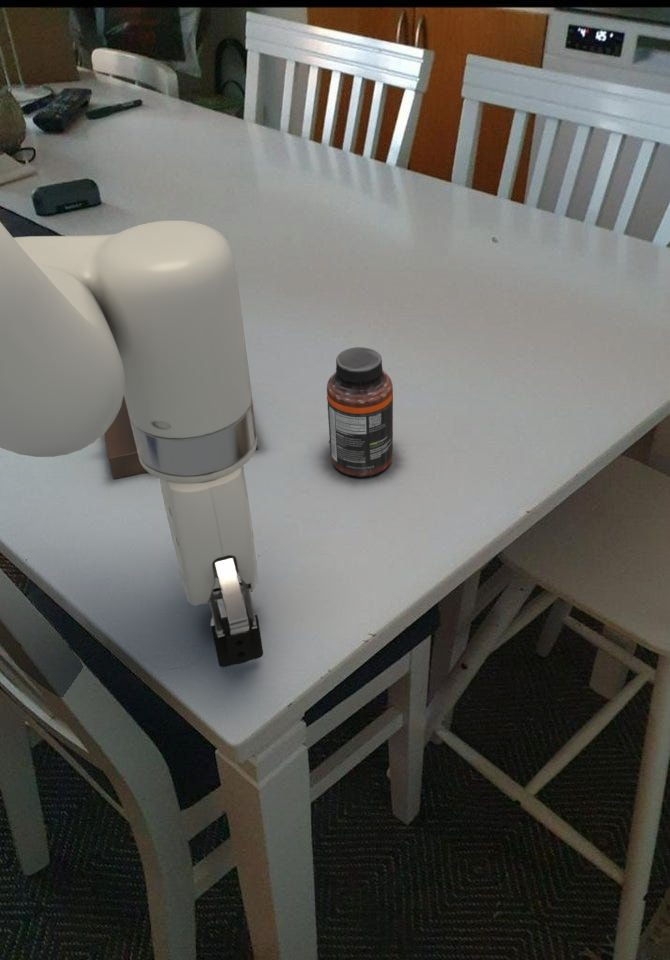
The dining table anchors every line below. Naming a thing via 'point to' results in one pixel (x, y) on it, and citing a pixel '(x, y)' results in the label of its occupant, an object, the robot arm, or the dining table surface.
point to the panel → (123, 446)
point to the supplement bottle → (360, 413)
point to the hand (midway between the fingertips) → (228, 612)
